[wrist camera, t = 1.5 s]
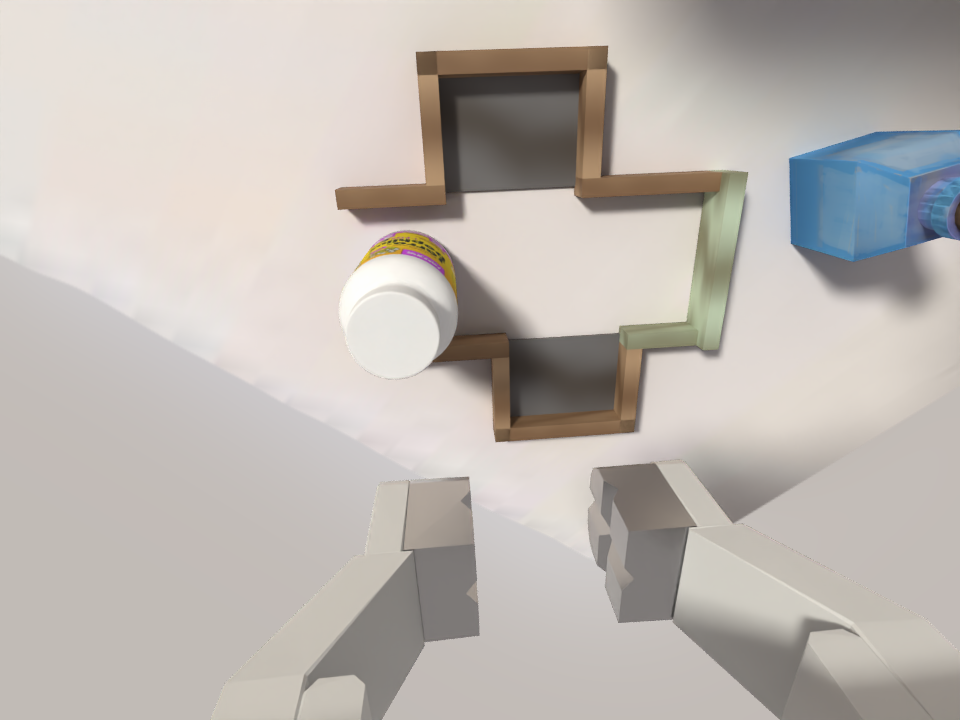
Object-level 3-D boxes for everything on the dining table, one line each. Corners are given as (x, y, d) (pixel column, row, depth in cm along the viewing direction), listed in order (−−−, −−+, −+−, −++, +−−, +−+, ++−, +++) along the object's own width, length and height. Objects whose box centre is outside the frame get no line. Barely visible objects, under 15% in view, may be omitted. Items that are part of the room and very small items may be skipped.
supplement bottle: (461, 236, 35) (472, 283, 24) (448, 323, 38) (451, 404, 26) (366, 221, 34) (328, 261, 23) (359, 311, 37) (321, 390, 25)
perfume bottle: (790, 243, 37) (936, 286, 26) (789, 158, 35) (949, 166, 24) (872, 219, 37) (1053, 252, 26) (876, 131, 35) (1079, 127, 24)
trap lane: (322, 60, 30) (310, 52, 28) (742, 46, 32) (771, 37, 29) (376, 437, 41) (372, 458, 39) (687, 415, 43) (703, 433, 40)
